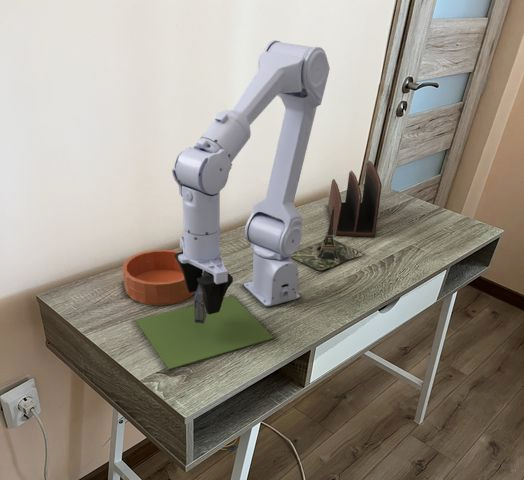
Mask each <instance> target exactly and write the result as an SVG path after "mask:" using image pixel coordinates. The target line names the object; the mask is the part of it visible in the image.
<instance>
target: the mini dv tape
mask: <svg viewBox="0 0 524 480" xmlns="http://www.w3.org/2000/svg"><path fill="white" fill-rule="evenodd" d="M208 273H209V272H207V271H204V270H203V272H202V277H205V276H209V275H208ZM193 304H194V305H193V306H194V309H195V323H203V324H204V321H205V318H206V315H207V311H206V307H205V300H204V295H203V292H202V289H201V287H200V285H198V288H197V290H196V293H195V294H194V295H193Z"/></svg>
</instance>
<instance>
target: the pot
mask: <svg viewBox="0 0 524 480" xmlns="http://www.w3.org/2000/svg"><path fill="white" fill-rule="evenodd" d="M179 252H180V251H179V250H173V249H151V250H146V251H142V252H139V253H136V254H134V255H132V256H131V257H129V258H128V259H126V260H125V261H124V263H123V265H122V276H123V284H124V290H125V293H126V294H127V296H128V297H129V298H131V299H132V300H133V301H136V302H138V303H140V304H145V305H151V306H168V305H169V306H170V305H174V304H179V303H182V302H184V301H186V300H189V299H190V298H191V297H194V296H195V293H196V291H195V292H191V293H189V291H188V289H187V286H186V283H185V279H184V276H183V273H182V270H181V268H180V265H179V263H178V262H177V260H176V258H175V257H174V255H175V254H176V253H179Z"/></svg>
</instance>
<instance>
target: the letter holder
mask: <svg viewBox="0 0 524 480" xmlns="http://www.w3.org/2000/svg"><path fill="white" fill-rule="evenodd" d="M348 172H349V173H348V178H347V187H346V193H345V201H342V196H341V192H340V189H339V186H338V183H337V182H336V179H334V178H332V180H331V184H330V191H329V196H328V203H327V207H328V210H329V215H330V216H331V213H332V206H333V205H334V206H335V209H334V218H333V232H334V234H335V235H334V236H342V237H343V236H344V237H345V236H346V237H365V238H366V237H369V238H374V237H375V235H376V229H377V224H378V217H379V216H378V215H379V209H380V203H381V202H380V201H381V194H382V193H381V192H382V187H383V185H382V182H381V181H382V180H381V178H380V175H379V172H378V171H377V168H376V167H375V165H374V164H373V162H372V161H371V160H367V162H366V167H365V174H364V183H363V190H362V191H361V187H360V184H359V181H358V179H357V176H356V174H355V172H353V170H349V171H348Z"/></svg>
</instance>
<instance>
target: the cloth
mask: <svg viewBox="0 0 524 480" xmlns="http://www.w3.org/2000/svg"><path fill="white" fill-rule="evenodd" d="M135 323H136V324H137V325H138V326H139V328H140V329H141V331H142V332H143V334H144V335H145V337H146V338H147V340H148V341H149V343H150V344H151V346H152V347H153V349H154V350H155V351H156V353H157V355H158V356H159V358H161V361H162V362H163V364H164V365H165V366H166V368H167V370H168V371H171V370H174V369H178V368H182V367H184V366H187V365H191V364H195V363H198V362H201V361H205V360H207V359H210V358H211V359H212V358H214V357H218V356H221V355H224V354H228V353H231V352H234V351H237V350H241V349H244V348H248V347H251V346H254V345H257V344H261V343H265V342H267V341H271V340H274V338H275V337H274V335H272V334H271V333H270V332H269V331H268V330H267V329H266V328H265V327H264V326H263V324H261V323H260V322H259V320H257V319H256V318H255V317H254V316H253V315H252V314H251V313H250V311H248V310H247V309H246V308H245V307H244V306H243V304H241V303H240V301H238V300H237V298H236V297H235V296H233V295H231V296H227V297H224V298H223V301H222V305H221V308H220V311H219V312H217V313H213V314H208V313H207V315H206V318H205V321H204V324H203V323H195V309H194V305H189V306H187V307H183V308H179V309H175V310H171V311H165V312H163V313H158V314H155V315H151V316H148V317H141V318H139V319H136V320H135Z"/></svg>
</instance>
